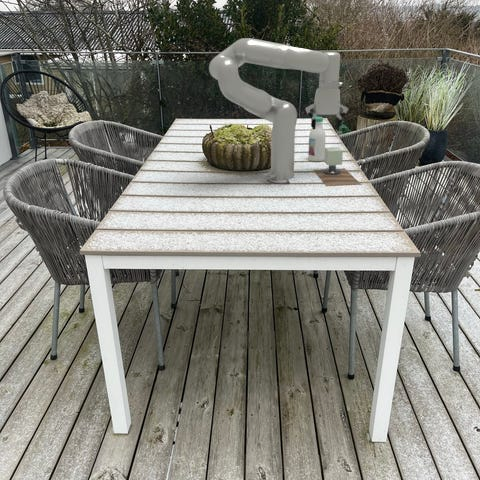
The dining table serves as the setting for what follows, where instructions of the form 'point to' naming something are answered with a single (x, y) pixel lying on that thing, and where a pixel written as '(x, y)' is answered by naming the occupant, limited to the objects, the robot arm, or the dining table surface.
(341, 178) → the board
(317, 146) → the milk bottle
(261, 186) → the dining table surface
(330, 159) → the pale green cube
